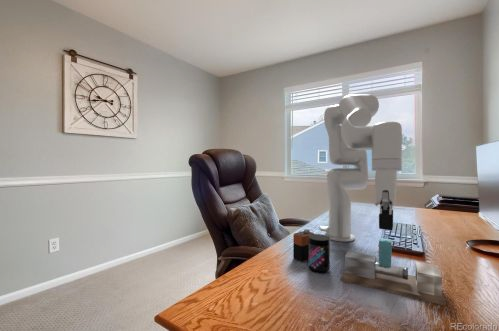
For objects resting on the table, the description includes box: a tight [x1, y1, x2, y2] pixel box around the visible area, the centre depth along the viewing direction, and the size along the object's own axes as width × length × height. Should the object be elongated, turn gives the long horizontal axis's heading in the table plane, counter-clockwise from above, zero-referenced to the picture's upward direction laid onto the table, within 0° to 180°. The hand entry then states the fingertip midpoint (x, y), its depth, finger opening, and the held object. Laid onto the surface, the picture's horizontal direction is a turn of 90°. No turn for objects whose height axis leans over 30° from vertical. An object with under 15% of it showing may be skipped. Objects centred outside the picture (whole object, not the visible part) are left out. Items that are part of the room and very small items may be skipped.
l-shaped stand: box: [375, 237, 409, 280], centre depth 72 cm, size 16×3×10 cm, turn 59°
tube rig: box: [340, 250, 447, 306], centre depth 70 cm, size 24×12×6 cm, turn 59°
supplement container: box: [307, 233, 331, 274], centre depth 78 cm, size 7×7×10 cm
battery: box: [292, 228, 315, 263], centre depth 87 cm, size 4×7×10 cm, turn 127°
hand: (386, 225), depth 70 cm, fingers open, 9 cm apart
